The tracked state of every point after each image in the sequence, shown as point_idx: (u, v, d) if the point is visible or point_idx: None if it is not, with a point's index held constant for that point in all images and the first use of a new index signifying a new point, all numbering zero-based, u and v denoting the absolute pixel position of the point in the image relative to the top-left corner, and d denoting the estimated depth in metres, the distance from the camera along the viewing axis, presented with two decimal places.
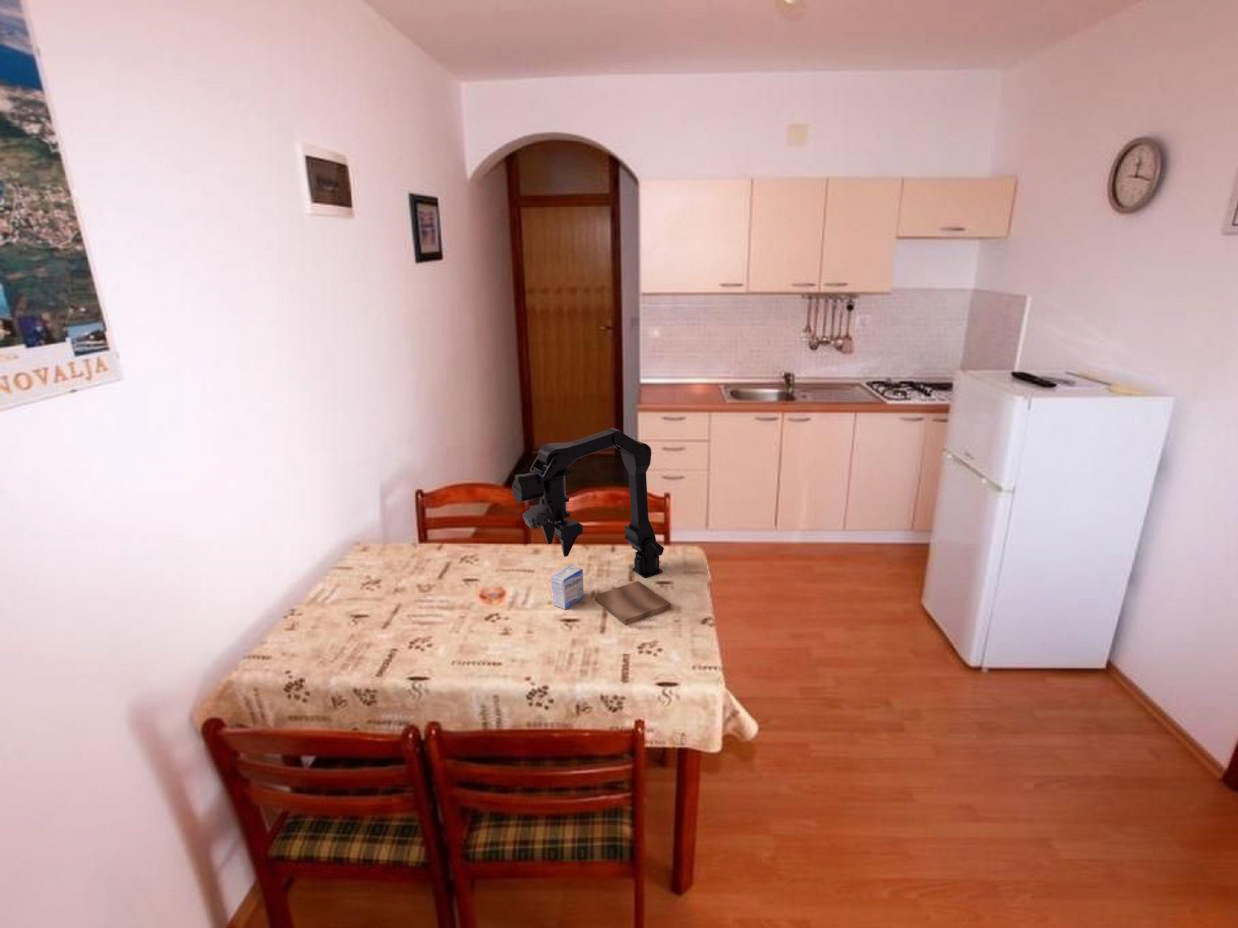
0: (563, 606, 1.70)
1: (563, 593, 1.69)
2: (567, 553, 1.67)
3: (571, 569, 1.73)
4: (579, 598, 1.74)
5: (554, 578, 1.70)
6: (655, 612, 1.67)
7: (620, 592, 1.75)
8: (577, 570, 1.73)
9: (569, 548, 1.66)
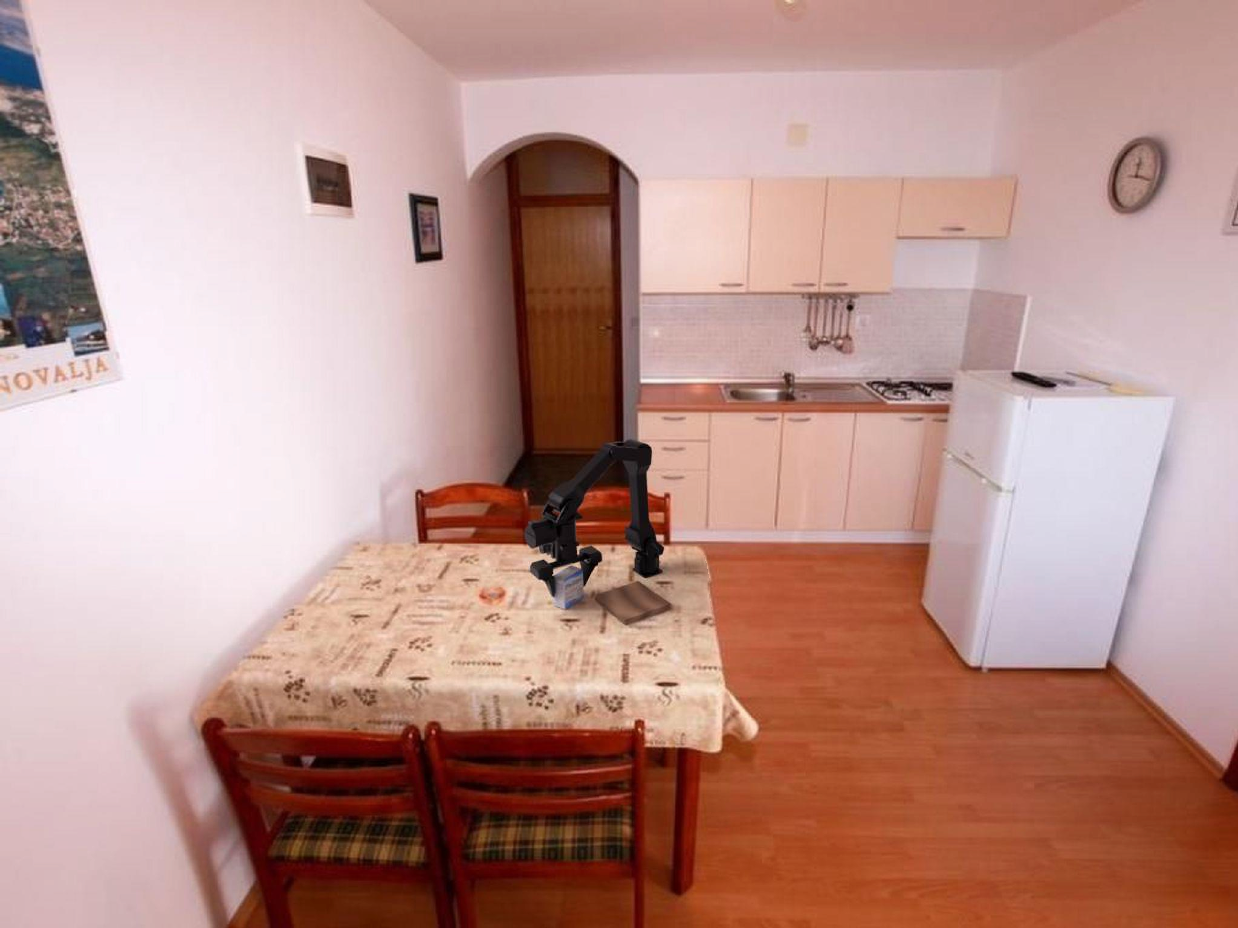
0: (563, 606, 1.70)
1: (563, 593, 1.69)
2: (551, 594, 1.71)
3: (571, 569, 1.73)
4: (579, 598, 1.74)
5: None
6: (655, 612, 1.67)
7: (620, 592, 1.75)
8: (577, 570, 1.73)
9: (550, 590, 1.70)
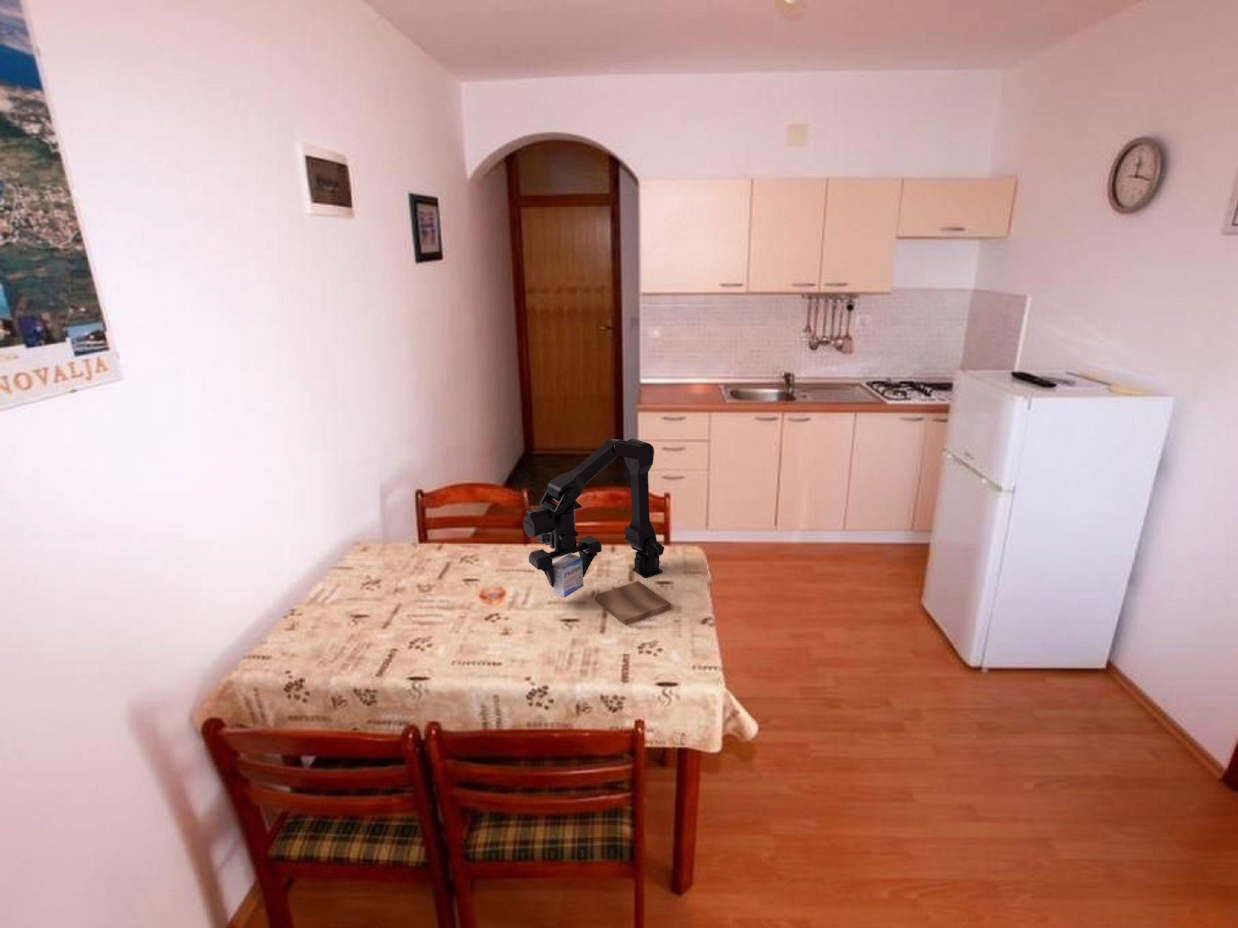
0: (562, 594, 1.69)
1: (562, 581, 1.68)
2: (550, 584, 1.70)
3: (570, 558, 1.72)
4: (578, 586, 1.73)
5: (553, 566, 1.69)
6: (655, 612, 1.67)
7: (620, 592, 1.75)
8: (576, 558, 1.72)
9: (549, 580, 1.69)
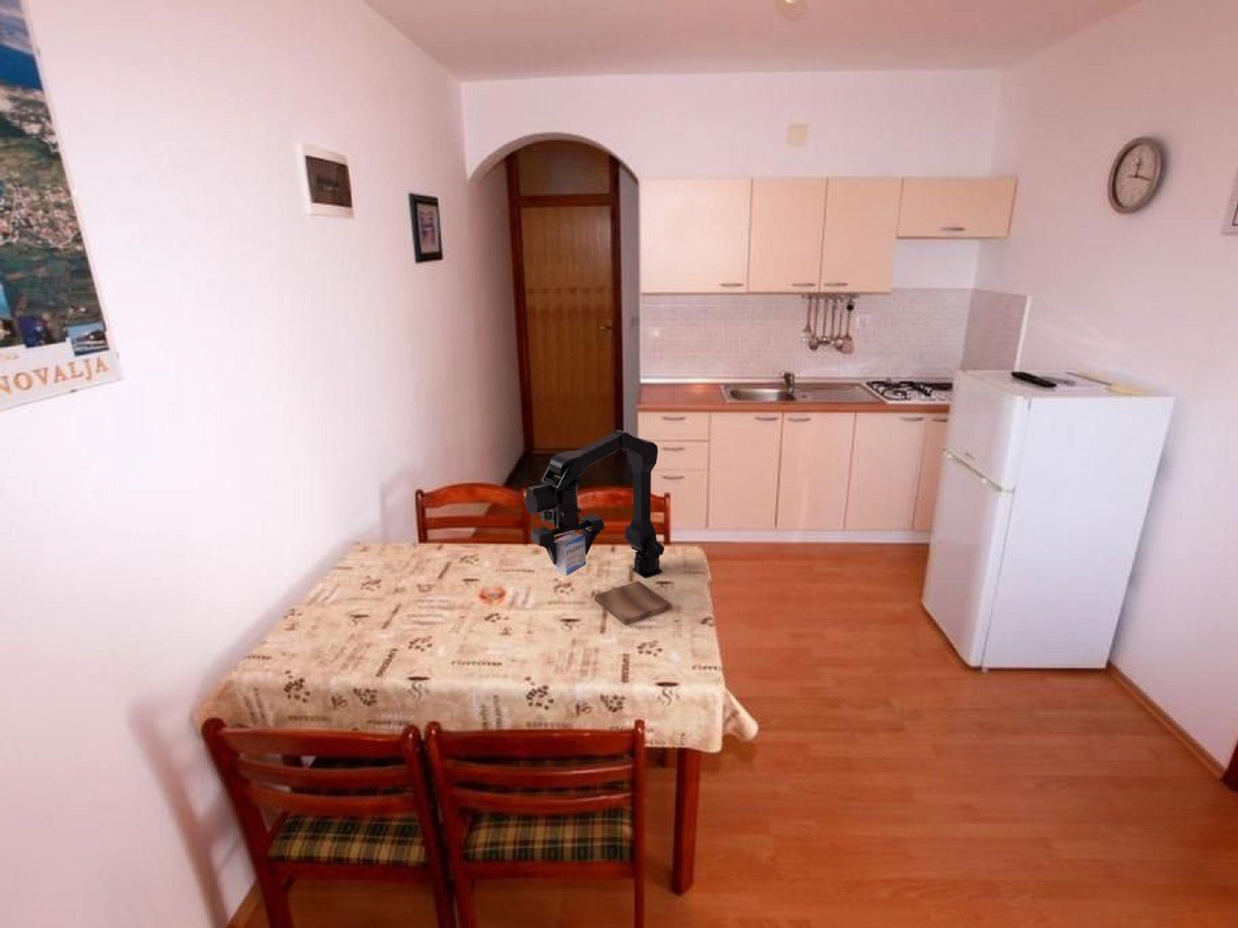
0: (564, 572, 1.67)
1: (565, 558, 1.66)
2: (553, 561, 1.68)
3: (573, 535, 1.70)
4: (581, 565, 1.71)
5: None
6: (655, 612, 1.67)
7: (620, 592, 1.75)
8: (579, 536, 1.70)
9: (551, 557, 1.67)
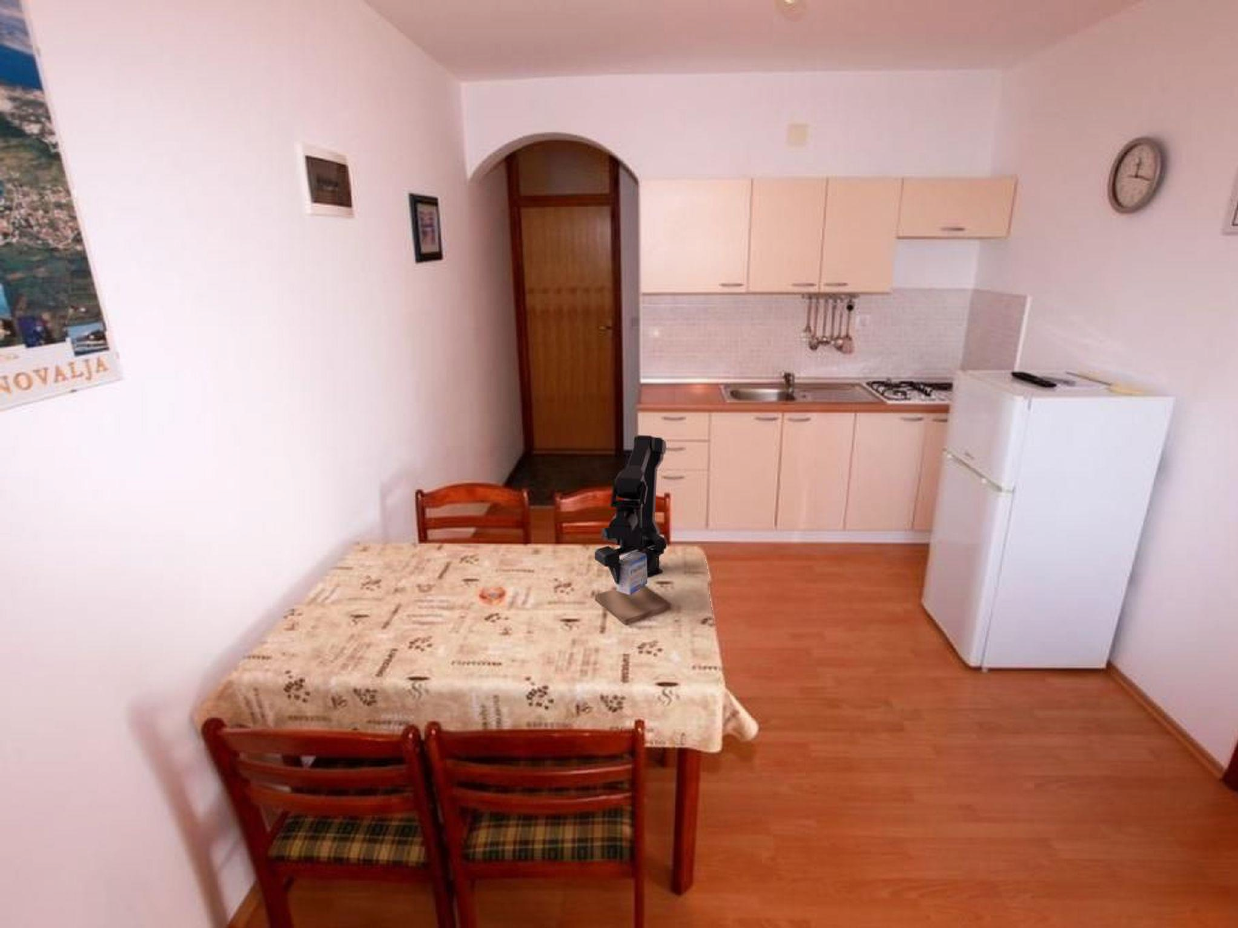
0: (628, 591, 1.67)
1: (629, 578, 1.65)
2: (616, 581, 1.67)
3: (635, 554, 1.69)
4: (643, 584, 1.71)
5: None
6: (655, 612, 1.67)
7: (620, 592, 1.75)
8: (641, 555, 1.69)
9: (615, 577, 1.66)
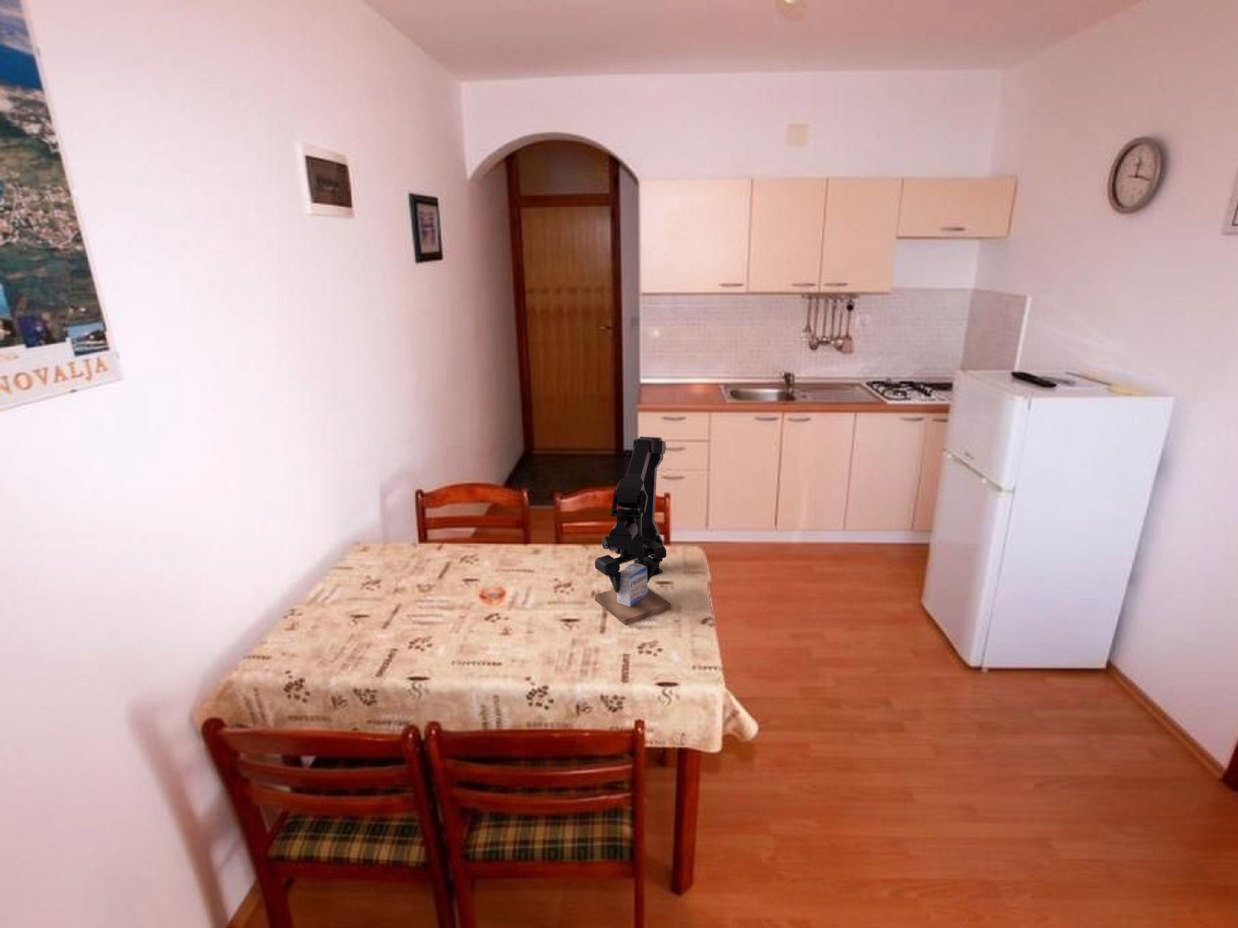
0: (628, 603, 1.68)
1: (629, 590, 1.66)
2: (615, 590, 1.68)
3: (636, 566, 1.70)
4: (643, 596, 1.72)
5: None
6: (655, 612, 1.67)
7: None
8: (642, 567, 1.70)
9: (615, 586, 1.67)
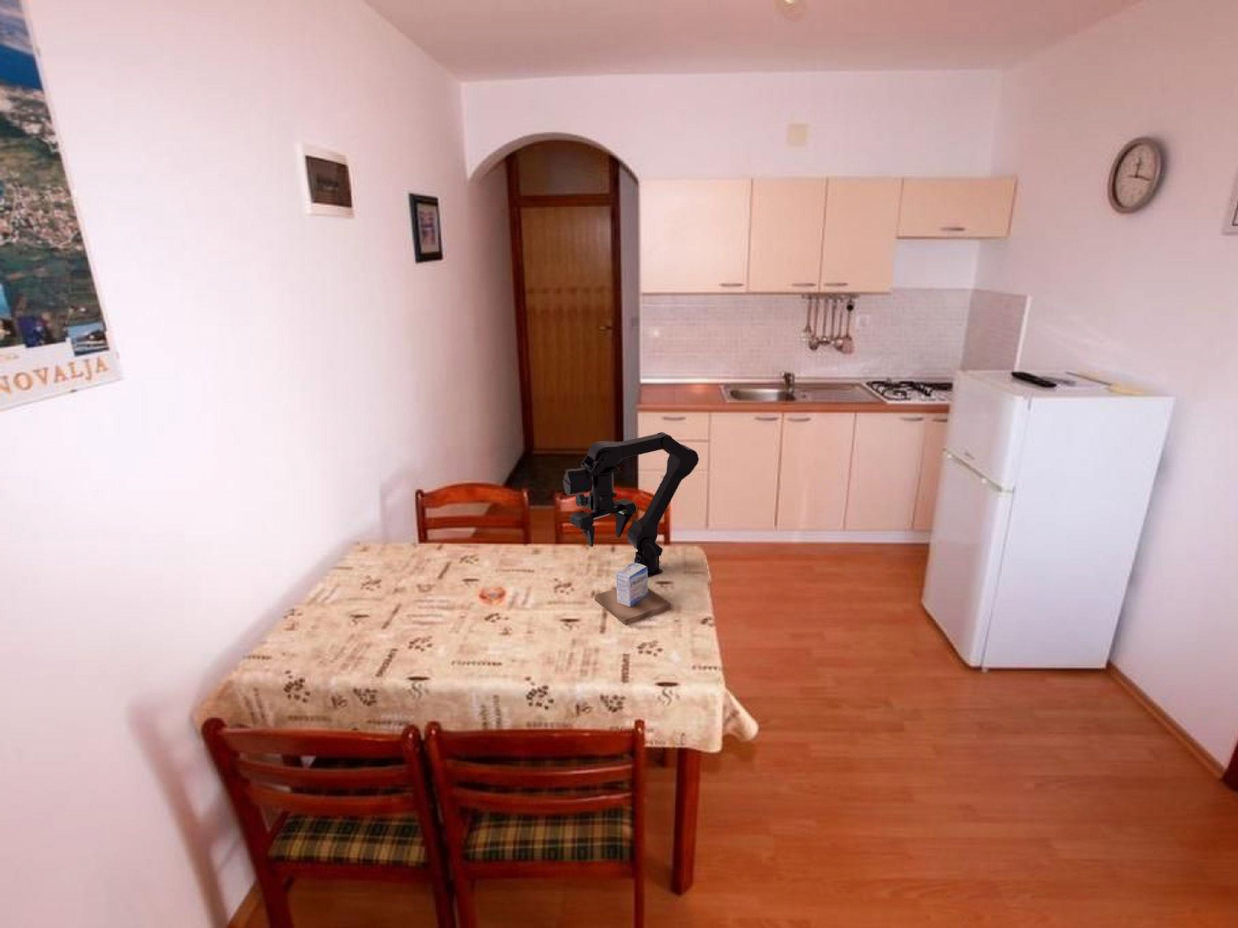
0: (628, 603, 1.68)
1: (629, 590, 1.66)
2: (590, 544, 1.78)
3: (636, 566, 1.70)
4: (643, 596, 1.72)
5: (619, 575, 1.67)
6: (655, 612, 1.67)
7: None
8: (642, 567, 1.70)
9: (589, 540, 1.77)
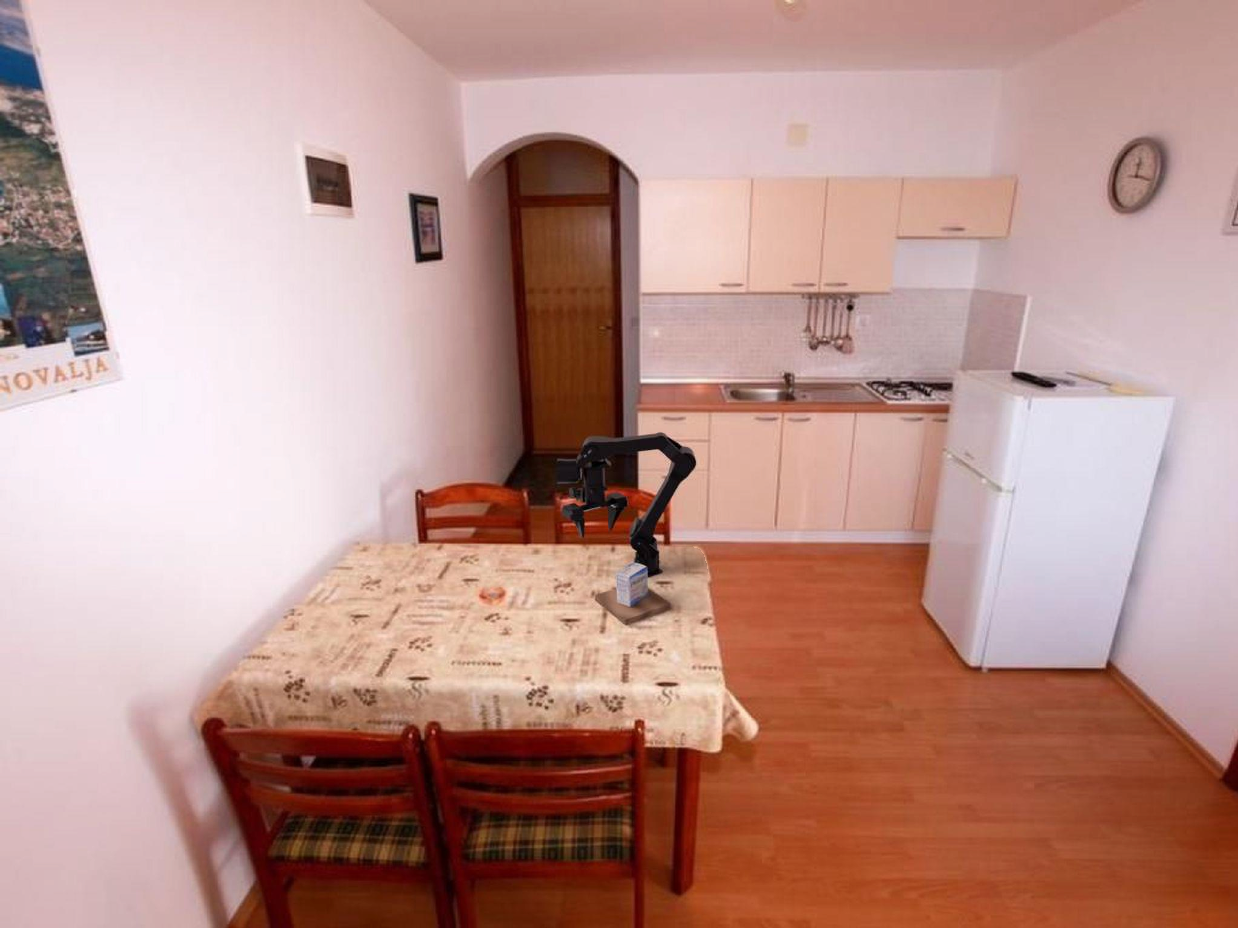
0: (628, 603, 1.68)
1: (629, 590, 1.66)
2: (581, 535, 1.83)
3: (636, 566, 1.70)
4: (643, 596, 1.72)
5: (619, 575, 1.67)
6: (655, 612, 1.67)
7: None
8: (642, 567, 1.70)
9: (580, 531, 1.82)
